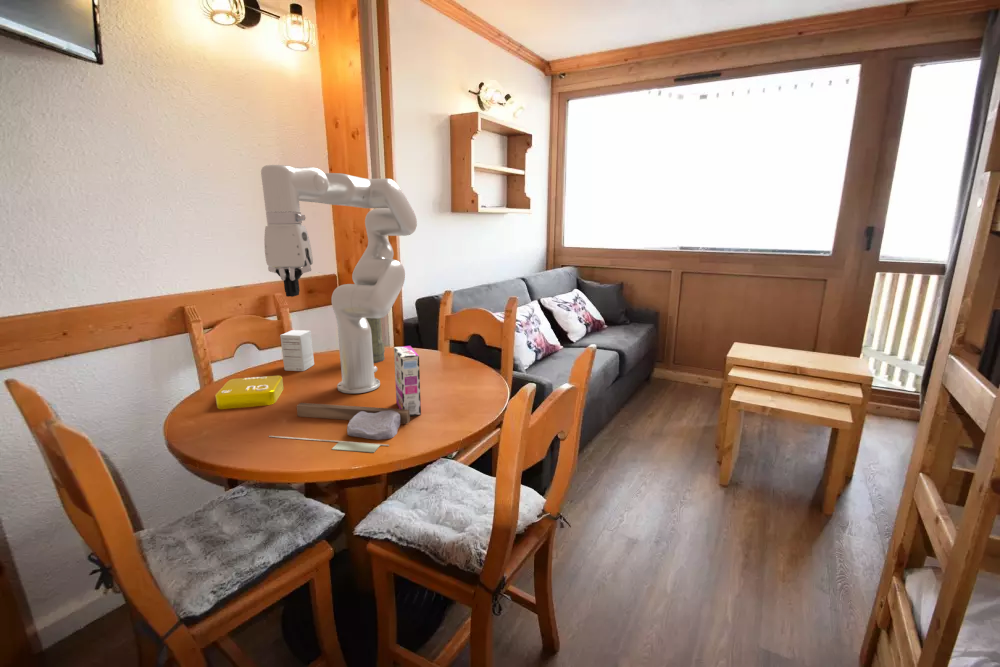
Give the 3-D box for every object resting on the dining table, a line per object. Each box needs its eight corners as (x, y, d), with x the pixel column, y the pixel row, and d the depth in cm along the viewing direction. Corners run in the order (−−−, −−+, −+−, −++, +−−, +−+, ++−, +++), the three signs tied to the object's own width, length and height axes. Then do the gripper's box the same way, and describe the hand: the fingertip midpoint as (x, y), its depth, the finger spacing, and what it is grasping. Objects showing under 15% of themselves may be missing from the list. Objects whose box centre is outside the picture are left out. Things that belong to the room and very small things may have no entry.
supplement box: (295, 364, 170) (291, 329, 167) (315, 365, 169) (311, 330, 166) (283, 370, 162) (279, 334, 159) (303, 371, 161) (300, 335, 158)
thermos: (381, 354, 182) (375, 261, 173) (387, 362, 171) (381, 264, 163) (357, 356, 178) (350, 262, 170) (362, 365, 168) (355, 265, 159)
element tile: (285, 388, 147) (283, 373, 146) (274, 406, 133) (272, 390, 132) (231, 392, 144) (229, 377, 143) (215, 411, 130) (212, 394, 128)
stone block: (394, 447, 112) (403, 422, 121) (391, 430, 110) (400, 406, 119) (344, 448, 113) (356, 423, 122) (341, 432, 111) (353, 407, 120)
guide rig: (301, 413, 127) (300, 402, 126) (409, 420, 122) (409, 409, 121) (259, 443, 110) (257, 431, 109) (382, 453, 105) (381, 441, 104)
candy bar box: (422, 415, 126) (419, 355, 122) (403, 417, 124) (400, 357, 120) (413, 400, 136) (410, 344, 132) (395, 402, 134) (392, 346, 130)
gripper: (321, 219, 117) (328, 293, 121) (265, 219, 119) (274, 292, 123) (304, 220, 109) (313, 299, 114) (245, 220, 111) (255, 297, 116)
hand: (292, 295), depth 119 cm, fingers closed
